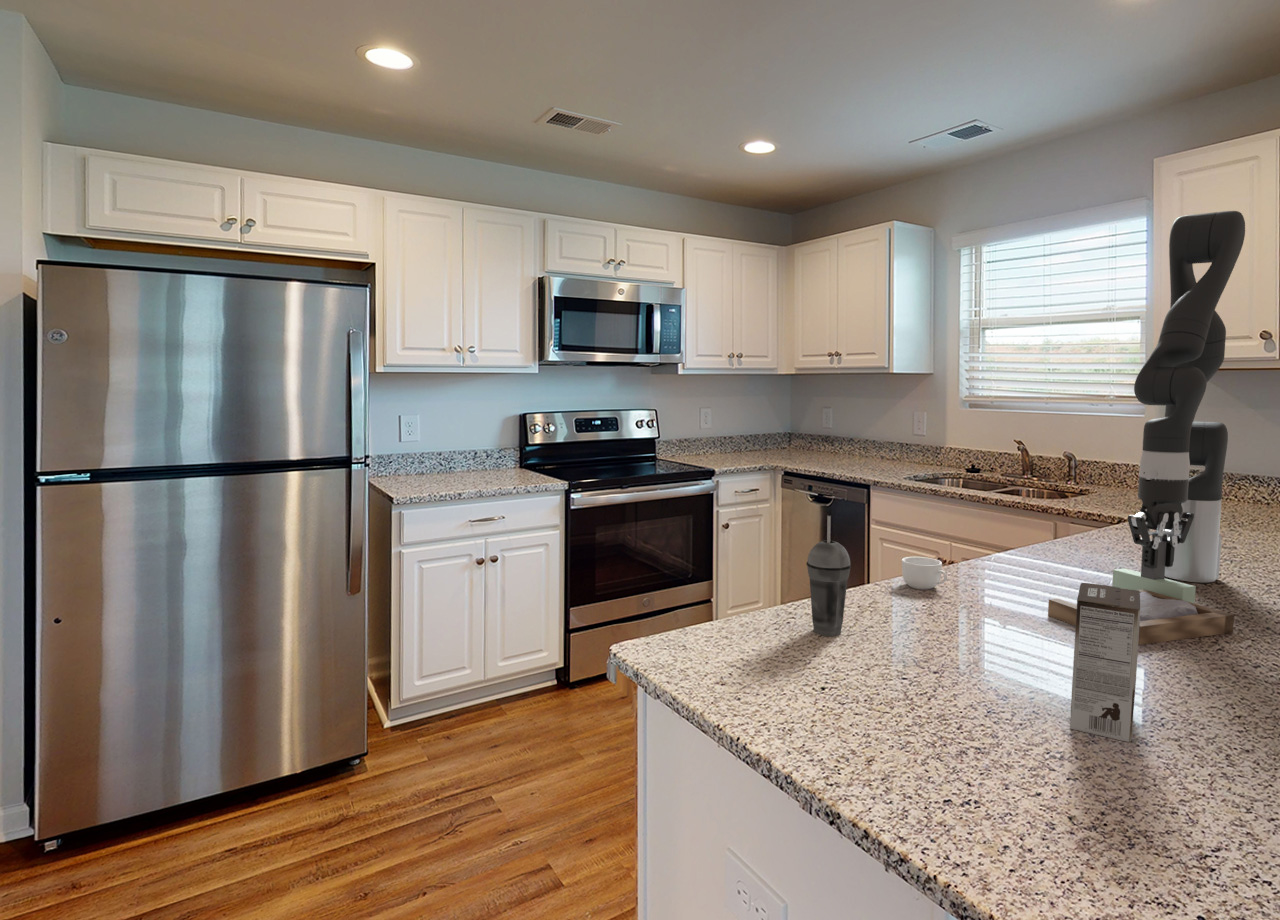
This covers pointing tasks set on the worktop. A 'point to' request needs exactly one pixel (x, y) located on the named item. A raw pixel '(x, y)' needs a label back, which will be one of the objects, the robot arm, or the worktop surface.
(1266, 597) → the worktop surface
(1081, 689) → the coffee box
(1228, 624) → the wooden u-shaped frame
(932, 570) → the teacup
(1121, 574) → the board
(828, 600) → the beverage cup
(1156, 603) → the stone block
